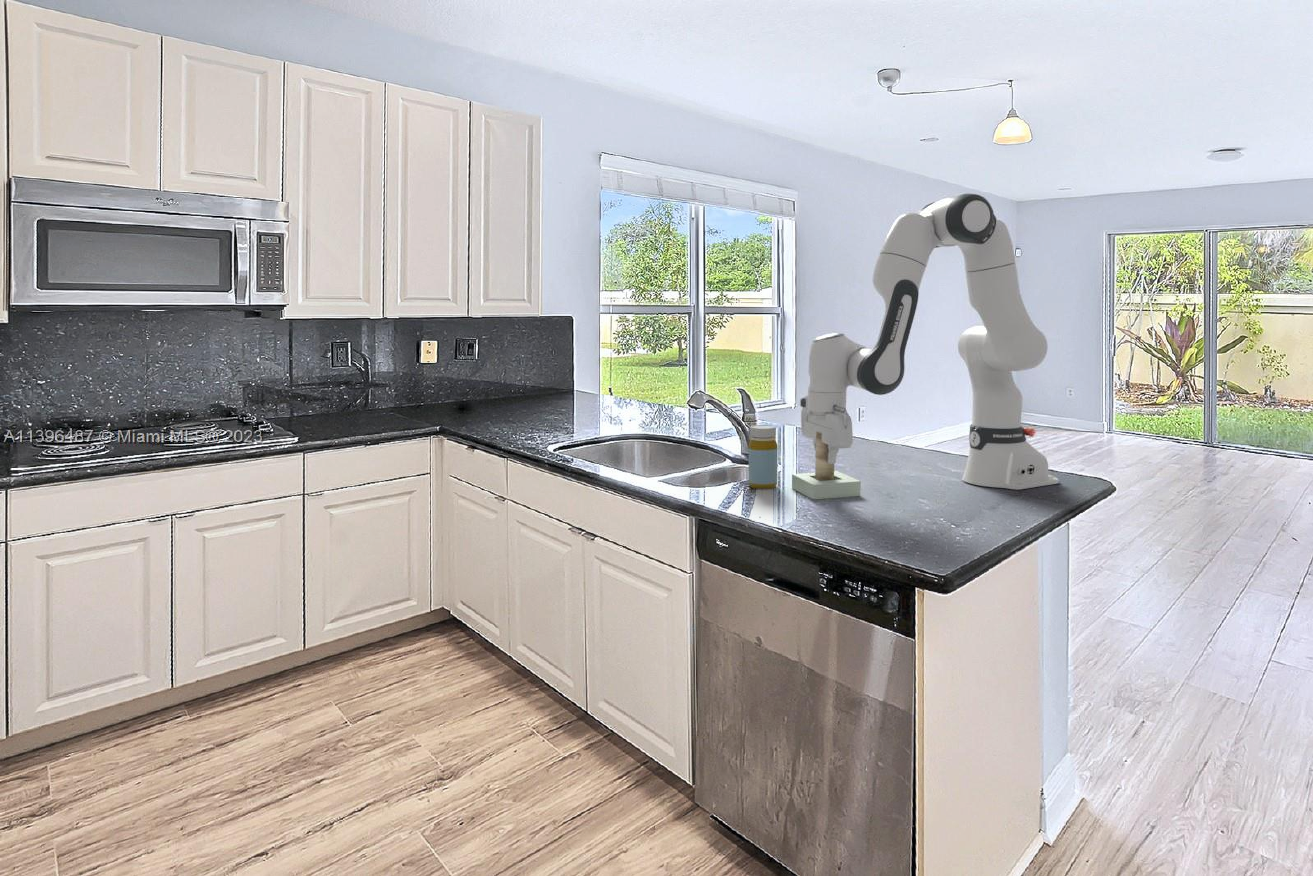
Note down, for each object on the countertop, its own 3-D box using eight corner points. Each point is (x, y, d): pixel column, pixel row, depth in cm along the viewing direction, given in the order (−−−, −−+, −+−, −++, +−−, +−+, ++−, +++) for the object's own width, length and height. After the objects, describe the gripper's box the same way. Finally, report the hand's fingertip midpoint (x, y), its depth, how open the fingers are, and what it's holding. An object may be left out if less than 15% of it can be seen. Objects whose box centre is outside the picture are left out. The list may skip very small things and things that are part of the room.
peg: (828, 479, 189) (830, 430, 187) (837, 483, 184) (838, 433, 182) (811, 480, 188) (813, 431, 186) (820, 484, 183) (821, 434, 181)
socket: (836, 484, 194) (836, 470, 193) (860, 495, 182) (860, 481, 182) (791, 488, 191) (792, 474, 190) (813, 499, 179) (813, 484, 179)
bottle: (758, 482, 198) (758, 423, 196) (782, 485, 194) (782, 426, 191) (743, 487, 193) (743, 427, 190) (767, 491, 188) (768, 429, 186)
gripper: (860, 407, 174) (858, 468, 176) (820, 397, 193) (818, 452, 196) (834, 409, 172) (833, 470, 175) (796, 398, 192) (795, 454, 194)
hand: (825, 460), depth 185 cm, fingers closed on peg, 4 cm apart
